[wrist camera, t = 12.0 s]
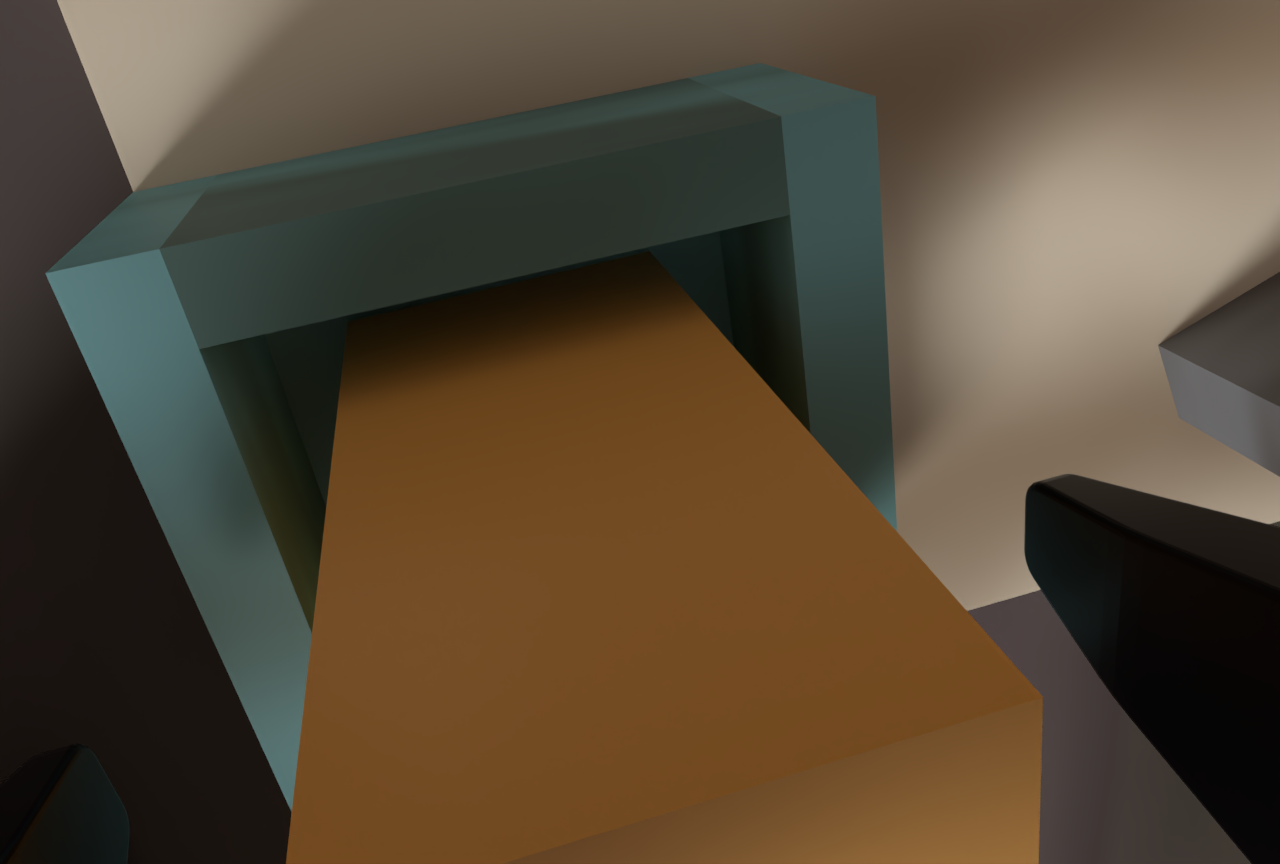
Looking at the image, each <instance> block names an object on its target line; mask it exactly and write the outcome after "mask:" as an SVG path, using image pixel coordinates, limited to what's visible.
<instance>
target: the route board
mask: <svg viewBox="0 0 1280 864" xmlns="http://www.w3.org/2000/svg"><path fill="white" fill-rule="evenodd" d="M57 2H58V4H59V7H60V9H61V12H62V14H63V17H64V19H65V22H66V24H67V27H68V29H69V32H70V34H71V37H72V39H73V42H74V44H75V47H76V49H77V52H78V54H79V57H80V60H81V62H82V65H83V67H84V70H85V72H86V75H87V77H88V80H89V82H90V85H91V87H92V90H93V92H94V95H95V97H96V100H97V102H98V105H99V107H100V110H101V112H102V115H103V117H104V120H105V122H106V125H107V127H108V130H109V132H110V135H111V137H112V140H113V142H114V145H115V147H116V150H117V152H118V155H119V157H120V160H121V162H122V165H123V167H124V170H125V172H126V175H127V177H128V180H129V182H130V185H131V188H132V190H133V193H132V194H131V195H130V196H128V197H127V198H126V199H125V200H124V201H123V202H122V203H121V204H120V205H119V206H118V207H117V208H115V209H114V210H113V211H112V212H111V213H110V214H109V215H108V216H107V217H106V218H105V219H104V220H102V221H101V222H100V223H99V224H98V225H97V226H96V227H95V228H94V229H93V230H92V231H91V232H89V233H88V234H87V235H86V236H85V237H84V238H83V239H82V240H81V241H80V242H79V243H78V244H77V245H75V246H74V247H73V248H72V249H71V250H70V251H69V252H68V253H67V254H66V255H65V256H64V257H62V258H61V259H60V260H59V261H58V262H57V263H56V264H55V265H54V266H53V267H52V268H51V269H49V270H48V271H47V272H46V273H45V274H46V276H47V278H48V280H49V283H50V285H51V287H52V289H53V291H54V294H55V296H56V298H57V300H58V302H59V304H60V307H61V309H62V311H63V313H64V315H65V318H66V320H67V322H68V324H69V326H70V329H71V331H72V333H73V335H74V337H75V339H76V342H77V344H78V346H79V348H80V350H81V353H82V355H83V357H84V359H85V361H86V364H87V366H88V368H89V370H90V372H91V375H92V377H93V379H94V381H95V383H96V385H97V388H98V390H99V392H100V394H101V396H102V399H103V401H104V403H105V405H106V407H107V410H108V412H109V414H110V416H111V418H112V420H113V423H114V425H115V427H116V429H117V431H118V434H119V436H120V438H121V440H122V442H123V445H124V447H125V449H126V451H127V453H128V455H129V458H130V460H131V462H132V464H133V466H134V469H135V471H136V473H137V475H138V477H139V480H140V482H141V484H142V486H143V488H144V491H145V493H146V495H147V497H148V499H149V501H150V504H151V506H152V508H153V510H154V512H155V515H156V517H157V519H158V521H159V523H160V526H161V528H162V530H163V532H164V534H165V536H166V539H167V541H168V543H169V545H170V547H171V550H172V552H173V554H174V556H175V558H176V561H177V563H178V565H179V567H180V569H181V571H182V574H183V576H184V578H185V580H186V582H187V585H188V587H189V589H190V591H191V593H192V596H193V598H194V600H195V602H196V604H197V607H198V609H199V611H200V613H201V615H202V617H203V620H204V622H205V624H206V626H207V628H208V631H209V633H210V635H211V637H212V639H213V642H214V644H215V646H216V648H217V650H218V652H219V655H220V657H221V659H222V661H223V663H224V666H225V668H226V670H227V672H228V674H229V677H230V679H231V681H232V683H233V685H234V687H235V690H236V692H237V694H238V696H239V698H240V701H241V703H242V705H243V707H244V709H245V712H246V714H247V716H248V718H249V720H250V722H251V725H252V727H253V729H254V731H255V733H256V736H257V738H258V740H259V742H260V744H261V747H262V749H263V751H264V753H265V755H266V758H267V760H268V762H269V764H270V766H271V768H272V771H273V773H274V775H275V777H276V779H277V782H278V784H279V786H280V788H281V790H282V793H283V795H284V797H285V799H286V801H287V803H288V806H289V808H290V810H291V812H292V805H293V796H294V787H295V779H296V770H297V761H298V752H299V743H300V735H301V726H302V717H303V708H304V699H305V691H306V682H307V673H308V664H309V655H310V647H311V638H312V629H313V620H314V612H315V603H316V594H317V585H318V576H319V568H320V559H321V550H322V541H323V532H324V524H325V515H326V506H327V497H328V488H329V480H330V471H331V462H332V453H333V444H334V436H335V427H336V418H337V409H338V400H339V392H340V383H341V374H342V365H343V356H344V348H345V339H346V330H347V322H349V321H353V320H357V319H361V318H366V317H370V316H374V315H378V314H383V313H387V312H391V311H396V310H400V309H404V308H408V307H413V306H417V305H421V304H426V303H430V302H434V301H438V300H443V299H447V298H451V297H456V296H460V295H464V294H468V293H473V292H477V291H481V290H485V289H490V288H494V287H498V286H503V285H507V284H511V283H515V282H520V281H524V280H528V279H533V278H537V277H541V276H545V275H550V274H554V273H558V272H562V271H567V270H571V269H575V268H580V267H584V266H588V265H592V264H597V263H601V262H605V261H610V260H614V259H618V258H622V257H627V256H631V255H635V254H640V253H644V252H648V251H650V252H651V253H652V255H653V256H654V257H655V258H656V259H657V260H658V261H659V262H660V264H661V265H662V266H663V267H664V268H665V269H666V270H667V272H668V273H669V274H670V275H671V276H672V277H673V278H674V280H675V281H676V282H677V283H678V284H679V285H680V286H681V287H682V289H683V290H684V291H685V292H686V293H687V294H688V295H689V297H690V298H691V299H692V300H693V301H694V302H695V303H696V304H697V306H698V307H699V308H700V309H701V310H702V311H703V312H704V314H705V315H706V316H707V317H708V318H709V319H710V320H711V321H712V323H713V324H714V325H715V326H716V327H717V328H718V329H719V331H720V332H721V333H722V334H723V335H724V336H725V337H726V338H727V340H728V341H729V342H730V343H731V344H732V345H733V346H734V348H735V349H736V350H737V351H738V352H739V353H740V354H741V355H742V357H743V358H744V359H745V360H746V361H747V362H748V363H749V365H750V366H751V367H752V368H753V369H754V370H755V371H756V372H757V374H758V375H759V376H760V377H761V378H762V379H763V380H764V382H765V383H766V384H767V385H768V386H769V387H770V388H771V389H772V391H773V392H774V393H775V394H776V395H777V396H778V397H779V399H780V400H781V401H782V402H783V403H784V404H785V405H786V406H787V408H788V409H789V410H790V411H791V412H792V413H793V414H794V416H795V417H796V418H797V419H798V420H799V421H800V422H801V424H802V425H803V426H804V427H805V428H806V429H807V430H808V431H809V433H810V434H811V435H812V436H813V437H814V438H815V439H816V441H817V442H818V443H819V444H820V445H821V446H822V447H823V448H824V450H825V451H826V452H827V453H828V454H829V455H830V456H831V458H832V459H833V460H834V461H835V462H836V463H837V464H838V465H839V467H840V468H841V469H842V470H843V471H844V472H845V473H846V475H847V476H848V477H849V478H850V479H851V480H852V481H853V482H854V484H855V485H856V486H857V487H858V488H859V489H860V490H861V492H862V493H863V494H864V495H865V496H866V497H867V498H868V499H869V501H870V502H871V503H872V504H873V505H874V506H875V507H876V509H877V510H878V511H879V512H880V513H881V514H882V515H883V516H884V518H885V519H886V520H887V521H888V522H889V523H890V524H891V526H892V527H893V528H894V529H895V530H896V531H897V532H898V533H899V535H900V536H901V537H902V538H903V539H904V540H905V541H906V543H907V544H908V545H909V546H910V547H911V548H912V549H913V551H914V552H915V553H916V554H917V555H918V556H919V557H920V558H921V560H922V561H923V562H924V563H925V564H926V565H927V566H928V568H929V569H930V570H931V571H932V572H933V573H934V574H935V575H936V577H937V578H938V579H939V580H940V581H941V582H942V583H943V585H944V586H945V587H946V588H947V589H948V590H949V591H950V592H951V594H952V595H953V596H954V597H955V598H956V599H957V600H958V602H959V603H960V604H961V605H962V606H963V607H964V608H965V609H966V611H968V610H972V609H975V608H979V607H982V606H986V605H989V604H993V603H996V602H999V601H1003V600H1006V599H1010V598H1013V597H1017V596H1020V595H1024V594H1027V593H1031V592H1034V591H1038V590H1041V589H1040V588H1039V586H1038V585H1037V583H1036V582H1035V580H1034V579H1033V577H1032V575H1031V573H1030V571H1029V569H1028V566H1027V563H1026V560H1025V553H1024V536H1025V498H1026V492H1027V490H1028V488H1029V486H1030V485H1032V484H1033V483H1034V482H1036V481H1040V480H1044V479H1047V478H1051V477H1055V476H1058V475H1062V474H1076V475H1080V476H1083V477H1087V478H1091V479H1095V480H1099V481H1103V482H1107V483H1111V484H1115V485H1118V486H1122V487H1126V488H1130V489H1134V490H1138V491H1142V492H1146V493H1150V494H1153V495H1157V496H1161V497H1165V498H1169V499H1173V500H1177V501H1181V502H1185V503H1188V504H1192V505H1196V506H1200V507H1204V508H1208V509H1212V510H1216V511H1220V512H1224V513H1227V514H1231V515H1235V516H1239V517H1243V518H1247V519H1251V520H1255V521H1259V522H1262V523H1266V524H1271V523H1274V522H1278V521H1280V0H57Z"/></svg>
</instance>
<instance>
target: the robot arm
mask: <svg viewBox="0 0 1280 864" xmlns="http://www.w3.org/2000/svg"><path fill="white" fill-rule="evenodd" d="M1024 553H1025V560H1026V563H1027V566H1028V569H1029V571H1030V573H1031V575H1032V577H1033V579H1034V580H1035V582H1036V583H1037V585H1038V586H1039V588H1040V589H1041V591H1042V592H1043V594H1044V595H1045V597H1046V598H1047V600H1048V601H1049V603H1050V604H1051V606H1052V607H1053V609H1054V610H1055V612H1056V613H1057V615H1058V616H1059V618H1060V619H1061V621H1062V622H1063V624H1064V625H1065V627H1066V628H1067V630H1068V631H1069V633H1070V634H1071V636H1072V637H1073V639H1074V640H1075V642H1076V643H1077V645H1078V646H1079V648H1080V649H1081V651H1082V652H1083V654H1084V655H1085V657H1086V658H1087V660H1088V661H1089V663H1090V664H1091V666H1092V667H1093V669H1094V670H1095V672H1096V673H1097V675H1098V676H1099V678H1100V679H1101V680H1102V682H1103V683H1104V685H1105V686H1106V687H1107V689H1108V690H1109V692H1110V693H1111V694H1112V696H1113V697H1114V698H1115V700H1116V701H1117V702H1118V703H1119V705H1120V706H1121V707H1122V708H1123V710H1124V711H1125V712H1126V713H1127V715H1128V716H1129V717H1130V718H1131V720H1132V721H1133V722H1134V723H1135V724H1136V726H1137V727H1138V728H1139V729H1140V730H1141V732H1142V733H1143V734H1144V735H1145V736H1146V738H1147V739H1148V740H1149V741H1150V742H1151V744H1152V745H1153V746H1154V747H1155V748H1156V750H1157V751H1158V752H1159V753H1160V754H1161V756H1162V757H1163V758H1164V759H1165V760H1166V762H1167V763H1168V764H1169V765H1170V766H1171V768H1172V769H1173V770H1174V771H1175V772H1176V774H1177V775H1178V776H1179V777H1180V778H1181V780H1182V781H1183V782H1184V783H1185V784H1186V786H1187V787H1188V788H1189V789H1190V790H1191V792H1192V793H1193V794H1194V795H1195V796H1196V798H1197V799H1198V800H1199V801H1200V802H1201V804H1202V805H1203V806H1204V807H1205V808H1206V810H1207V811H1208V812H1209V813H1210V814H1211V816H1212V817H1213V818H1214V819H1215V820H1216V822H1217V823H1218V824H1219V825H1220V826H1221V828H1222V829H1223V830H1224V831H1225V832H1226V834H1227V835H1228V836H1229V837H1230V838H1231V840H1232V841H1233V842H1234V843H1235V844H1236V846H1237V847H1238V848H1239V849H1240V850H1241V852H1242V853H1243V854H1244V855H1245V856H1246V858H1247V859H1248V860H1249V861H1250V862H1251V864H1280V527H1278V526H1274V525H1270V524H1266V523H1262V522H1259V521H1255V520H1251V519H1247V518H1243V517H1239V516H1235V515H1231V514H1227V513H1224V512H1220V511H1216V510H1212V509H1208V508H1204V507H1200V506H1196V505H1192V504H1188V503H1185V502H1181V501H1177V500H1173V499H1169V498H1165V497H1161V496H1157V495H1153V494H1150V493H1146V492H1142V491H1138V490H1134V489H1130V488H1126V487H1122V486H1118V485H1115V484H1111V483H1107V482H1103V481H1099V480H1095V479H1091V478H1087V477H1083V476H1080V475H1076V474H1062V475H1058V476H1055V477H1051V478H1047V479H1044V480H1040V481H1036V482H1034V483H1033V484H1032V485H1030V486H1029V488H1028V490H1027V492H1026V498H1025V536H1024ZM129 837H130V828H129V820H128V815H127V812H126V809H125V807H124V805H123V803H122V801H121V799H120V797H119V796H118V794H117V792H116V790H115V789H114V787H113V785H112V783H111V781H110V780H109V778H108V776H107V774H106V773H105V771H104V769H103V767H102V766H101V764H100V762H99V760H98V759H97V757H96V755H95V754H94V752H93V751H92V750H91V749H90V748H89V747H88V746H85V745H82V744H73V745H70V746H66V747H62V748H59V749H55V750H51V751H48V752H44V753H40V754H37V755H35V756H33V757H31V758H30V759H29V760H28V761H26V762H25V763H24V764H23V765H22V766H21V767H20V768H19V769H18V770H17V771H16V772H15V773H14V774H13V775H11V776H10V777H9V778H8V779H7V780H6V781H5V782H4V783H3V784H2V785H1V786H0V864H127V862H128V849H129Z"/></svg>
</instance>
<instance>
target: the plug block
mask: <svg viewBox="0 0 1280 864" xmlns="http://www.w3.org/2000/svg"><path fill="white" fill-rule="evenodd" d="M1042 716H1043V697H1042V696H1041V695H1040V693H1039V692H1038V691H1037V690H1036V689H1035V688H1034V687H1033V685H1032V684H1031V683H1030V682H1029V681H1028V680H1027V679H1026V677H1025V676H1024V675H1023V674H1022V673H1021V672H1020V671H1019V670H1018V668H1017V667H1016V666H1015V665H1014V664H1013V663H1012V662H1011V660H1010V659H1009V658H1008V657H1007V656H1006V655H1005V654H1004V653H1003V651H1002V650H1001V649H1000V648H999V647H998V646H997V645H996V643H995V642H994V641H993V640H992V639H991V638H990V637H989V636H988V634H987V633H986V632H985V631H984V630H983V629H982V628H981V626H980V625H979V624H978V623H977V622H976V621H975V620H974V619H973V617H972V616H971V615H970V614H969V613H968V612H967V611H966V609H965V608H964V607H963V606H962V605H961V604H960V603H959V602H958V600H957V599H956V598H955V597H954V596H953V595H952V594H951V592H950V591H949V590H948V589H947V588H946V587H945V586H944V585H943V583H942V582H941V581H940V580H939V579H938V578H937V577H936V575H935V574H934V573H933V572H932V571H931V570H930V569H929V568H928V566H927V565H926V564H925V563H924V562H923V561H922V560H921V558H920V557H919V556H918V555H917V554H916V553H915V552H914V551H913V549H912V548H911V547H910V546H909V545H908V544H907V543H906V541H905V540H904V539H903V538H902V537H901V536H900V535H899V533H898V532H897V531H896V530H895V529H894V528H893V527H892V526H891V524H890V523H889V522H888V521H887V520H886V519H885V518H884V516H883V515H882V514H881V513H880V512H879V511H878V510H877V509H876V507H875V506H874V505H873V504H872V503H871V502H870V501H869V499H868V498H867V497H866V496H865V495H864V494H863V493H862V492H861V490H860V489H859V488H858V487H857V486H856V485H855V484H854V482H853V481H852V480H851V479H850V478H849V477H848V476H847V475H846V473H845V472H844V471H843V470H842V469H841V468H840V467H839V465H838V464H837V463H836V462H835V461H834V460H833V459H832V458H831V456H830V455H829V454H828V453H827V452H826V451H825V450H824V448H823V447H822V446H821V445H820V444H819V443H818V442H817V441H816V439H815V438H814V437H813V436H812V435H811V434H810V433H809V431H808V430H807V429H806V428H805V427H804V426H803V425H802V424H801V422H800V421H799V420H798V419H797V418H796V417H795V416H794V414H793V413H792V412H791V411H790V410H789V409H788V408H787V406H786V405H785V404H784V403H783V402H782V401H781V400H780V399H779V397H778V396H777V395H776V394H775V393H774V392H773V391H772V389H771V388H770V387H769V386H768V385H767V384H766V383H765V382H764V380H763V379H762V378H761V377H760V376H759V375H758V374H757V372H756V371H755V370H754V369H753V368H752V367H751V366H750V365H749V363H748V362H747V361H746V360H745V359H744V358H743V357H742V355H741V354H740V353H739V352H738V351H737V350H736V349H735V348H734V346H733V345H732V344H731V343H730V342H729V341H728V340H727V338H726V337H725V336H724V335H723V334H722V333H721V332H720V331H719V329H718V328H717V327H716V326H715V325H714V324H713V323H712V321H711V320H710V319H709V318H708V317H707V316H706V315H705V314H704V312H703V311H702V310H701V309H700V308H699V307H698V306H697V304H696V303H695V302H694V301H693V300H692V299H691V298H690V297H689V295H688V294H687V293H686V292H685V291H684V290H683V289H682V287H681V286H680V285H679V284H678V283H677V282H676V281H675V280H674V278H673V277H672V276H671V275H670V274H669V273H668V272H667V270H666V269H665V268H664V267H663V266H662V265H661V264H660V262H659V261H658V260H657V259H656V258H655V257H654V256H653V255H652V253H651V252H650V251H648V252H644V253H640V254H635V255H631V256H627V257H622V258H618V259H614V260H610V261H605V262H601V263H597V264H592V265H588V266H584V267H580V268H575V269H571V270H567V271H562V272H558V273H554V274H550V275H545V276H541V277H537V278H533V279H528V280H524V281H520V282H515V283H511V284H507V285H503V286H498V287H494V288H490V289H485V290H481V291H477V292H473V293H468V294H464V295H460V296H456V297H451V298H447V299H443V300H438V301H434V302H430V303H426V304H421V305H417V306H413V307H408V308H404V309H400V310H396V311H391V312H387V313H383V314H378V315H374V316H370V317H366V318H361V319H357V320H353V321H349V322H347V330H346V339H345V348H344V356H343V365H342V374H341V383H340V392H339V400H338V409H337V418H336V427H335V436H334V444H333V453H332V462H331V471H330V480H329V488H328V497H327V506H326V515H325V524H324V532H323V541H322V550H321V559H320V568H319V576H318V585H317V594H316V603H315V612H314V620H313V629H312V638H311V647H310V655H309V664H308V673H307V682H306V691H305V699H304V708H303V717H302V726H301V735H300V743H299V752H298V761H297V770H296V779H295V787H294V796H293V805H292V814H291V823H290V831H289V840H288V849H287V858H286V864H1038V862H1039V825H1040V789H1041V753H1042Z"/></svg>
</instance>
